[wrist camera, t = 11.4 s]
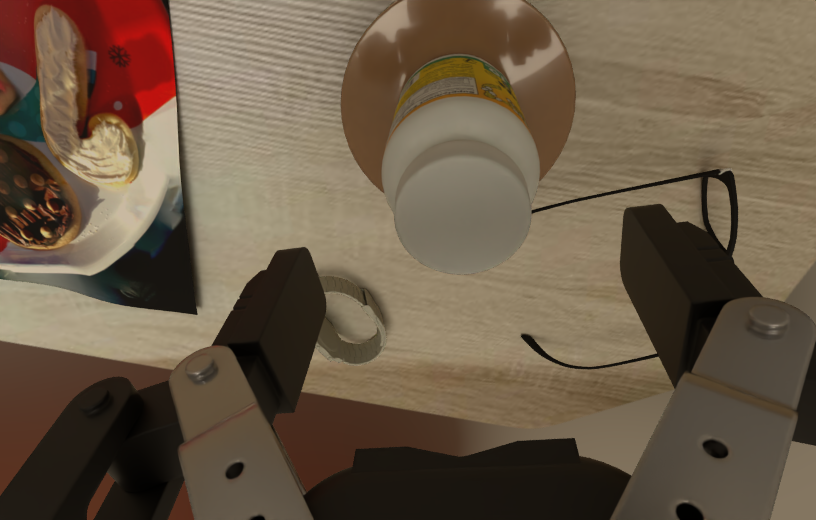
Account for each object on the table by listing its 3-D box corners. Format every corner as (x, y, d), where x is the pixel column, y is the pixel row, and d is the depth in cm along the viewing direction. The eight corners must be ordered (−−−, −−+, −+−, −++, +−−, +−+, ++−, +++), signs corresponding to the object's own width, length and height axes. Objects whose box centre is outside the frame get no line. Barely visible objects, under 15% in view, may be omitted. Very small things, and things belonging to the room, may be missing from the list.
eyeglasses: (709, 318, 41) (732, 351, 37) (524, 349, 44) (530, 382, 41) (716, 139, 32) (747, 162, 29) (485, 196, 36) (489, 222, 32)
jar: (353, -14, 28) (311, 11, 20) (534, -53, 27) (577, -45, 18) (390, 152, 34) (369, 229, 25) (540, 129, 33) (575, 203, 24)
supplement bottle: (382, 71, 21) (342, 155, 13) (505, 35, 20) (544, 104, 12) (415, 180, 24) (399, 305, 16) (524, 155, 22) (566, 275, 15)
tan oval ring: (290, 283, 42) (273, 321, 38) (348, 256, 40) (337, 293, 36) (348, 350, 46) (338, 391, 42) (404, 328, 44) (400, 369, 40)
